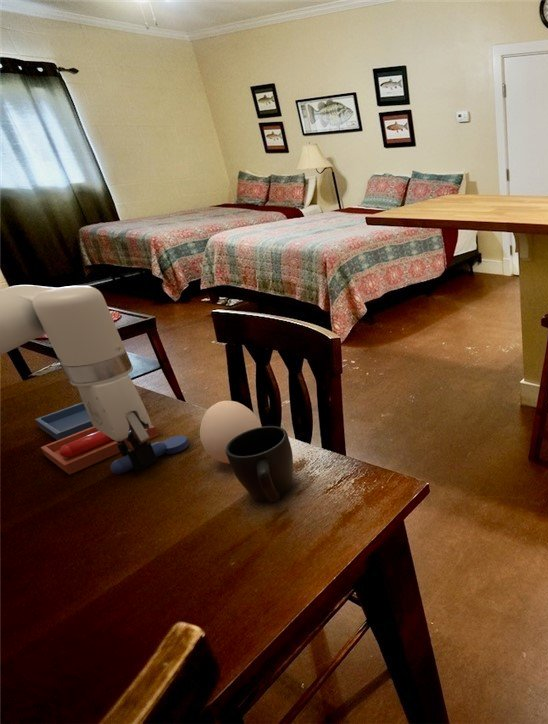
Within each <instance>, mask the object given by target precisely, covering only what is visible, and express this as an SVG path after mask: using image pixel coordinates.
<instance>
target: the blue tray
mask: <svg viewBox="0 0 548 724" xmlns="http://www.w3.org/2000/svg"><path fill="white" fill-rule="evenodd" d="M34 420H35V422H36V424H37V426H38V427H39V429H40V430H42V431H43V432H44V433H46V434H48V435H49V436H50V437H51V438H53V439H54V440H56V441H58V440H60V439H63V438H65V437H68V436H70V435H73V434H76V433H78V432H81V431H83V430H86V429H88V428H91V427H93V425H92V423H91V420H90V418H89V416H88V413H87V411H86V408H85V406H84V404H83V401H82V402H79V403H76V404H74V405H71V406H68V407H66V408H63V409H60V410H56V411H54V412H51V413H48V414H46V415H42V416H40V417H37V418H35V419H34Z"/></svg>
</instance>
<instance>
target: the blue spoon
mask: <svg viewBox="0 0 548 724" xmlns="http://www.w3.org/2000/svg"><path fill="white" fill-rule="evenodd" d="M189 445H190V442H189V440H188V437H187V436H186V435H175V436H171V437H169V438H167V439H164V440H163V441H157V442H153V443H151V446H152V448H153V450H154V453H155V455H156V457H157V458H158V457H160V456H163V455H164V454H166V455H173V454H178V453H180V452H182V451H184V450H186V449H187V448H188V447H189ZM109 468H110V471H111V472H112V473H114V474H115V475H116V474H117V475H120V474H124V473H126V472H129V471H131V470H133V469H134V467H133V465H132V463H131V461H130V459H129V456H128V455H127V456H124V457H122V456H121V457H120V458H118V459H115V460H114V461H112V463H111V464H110V467H109Z"/></svg>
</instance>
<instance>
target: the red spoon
mask: <svg viewBox="0 0 548 724" xmlns="http://www.w3.org/2000/svg"><path fill="white" fill-rule="evenodd" d="M111 440H113V439H111V438H110V437H108V436H106V435H105V434H103V433H102V432H100V431H98V432H95V433H93V434H90V435H88V436H85V437H83V438H80V439H78V440H75V441H73V442H71V443H68V444H66V445H64V446H62V447H61V448H60V451H59V452H60V455H61V456H63V457H66V458H70V457H73V456H76V455H78V454H80V453H83V452H85V451H88V450H90V449H92V448H95V447H97V446H99V445H102V444H104V443H106V442H109V441H111Z"/></svg>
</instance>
